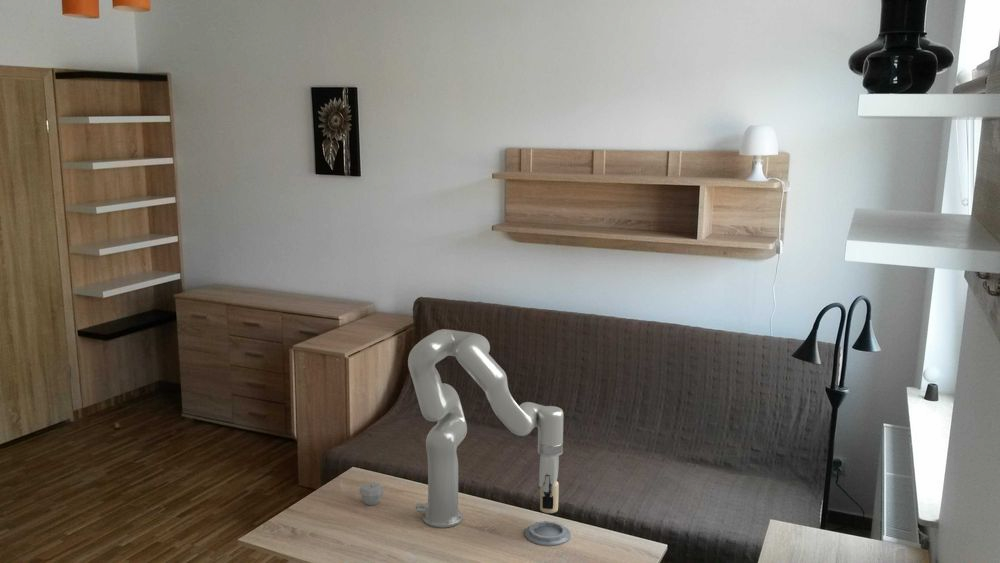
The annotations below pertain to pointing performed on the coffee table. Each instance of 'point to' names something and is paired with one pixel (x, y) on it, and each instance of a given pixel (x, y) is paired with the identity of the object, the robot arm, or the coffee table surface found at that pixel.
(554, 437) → the robot arm
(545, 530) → the candle dish
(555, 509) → the candle
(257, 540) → the coffee table surface
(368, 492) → the apple
